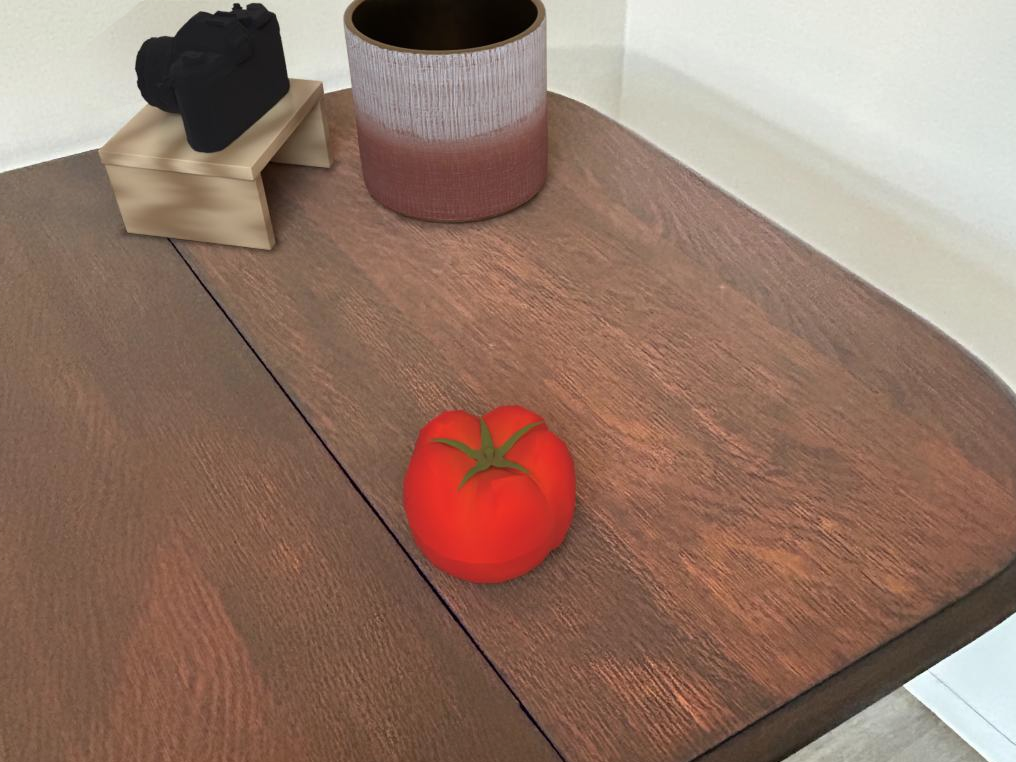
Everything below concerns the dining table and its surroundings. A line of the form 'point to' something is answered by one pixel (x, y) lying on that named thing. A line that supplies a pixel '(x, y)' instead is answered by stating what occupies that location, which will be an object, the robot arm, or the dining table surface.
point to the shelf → (212, 171)
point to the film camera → (216, 73)
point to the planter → (450, 104)
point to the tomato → (489, 493)
